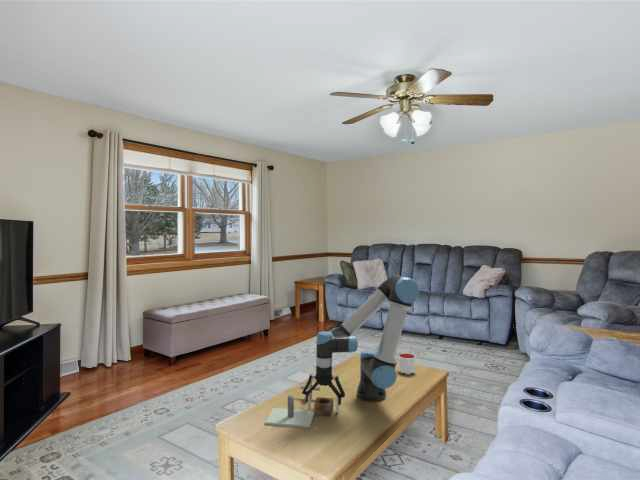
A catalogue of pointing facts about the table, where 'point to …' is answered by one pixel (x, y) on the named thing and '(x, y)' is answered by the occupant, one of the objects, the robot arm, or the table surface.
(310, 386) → the pipe connector
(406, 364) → the cup
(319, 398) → the collar
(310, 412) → the post stand
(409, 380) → the table surface
